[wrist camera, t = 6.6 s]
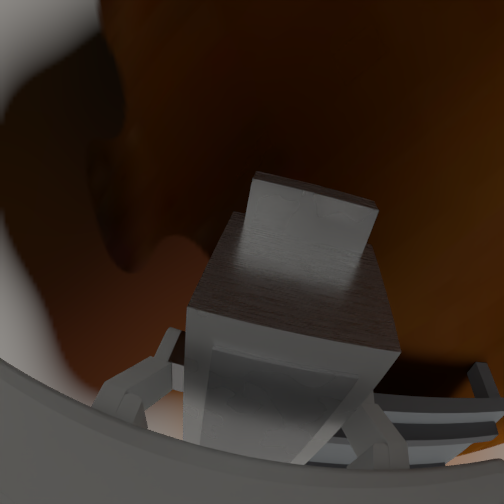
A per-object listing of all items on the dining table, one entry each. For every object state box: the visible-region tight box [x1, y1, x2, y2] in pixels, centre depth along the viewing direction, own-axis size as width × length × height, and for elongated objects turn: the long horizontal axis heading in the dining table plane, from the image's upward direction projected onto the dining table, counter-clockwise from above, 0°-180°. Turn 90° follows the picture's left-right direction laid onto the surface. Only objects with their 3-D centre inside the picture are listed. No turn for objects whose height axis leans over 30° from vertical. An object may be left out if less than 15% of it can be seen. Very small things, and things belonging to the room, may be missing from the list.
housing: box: [183, 171, 401, 465], centre depth 11 cm, size 13×5×5 cm, turn 169°
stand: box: [305, 362, 504, 469], centre depth 23 cm, size 12×17×8 cm
